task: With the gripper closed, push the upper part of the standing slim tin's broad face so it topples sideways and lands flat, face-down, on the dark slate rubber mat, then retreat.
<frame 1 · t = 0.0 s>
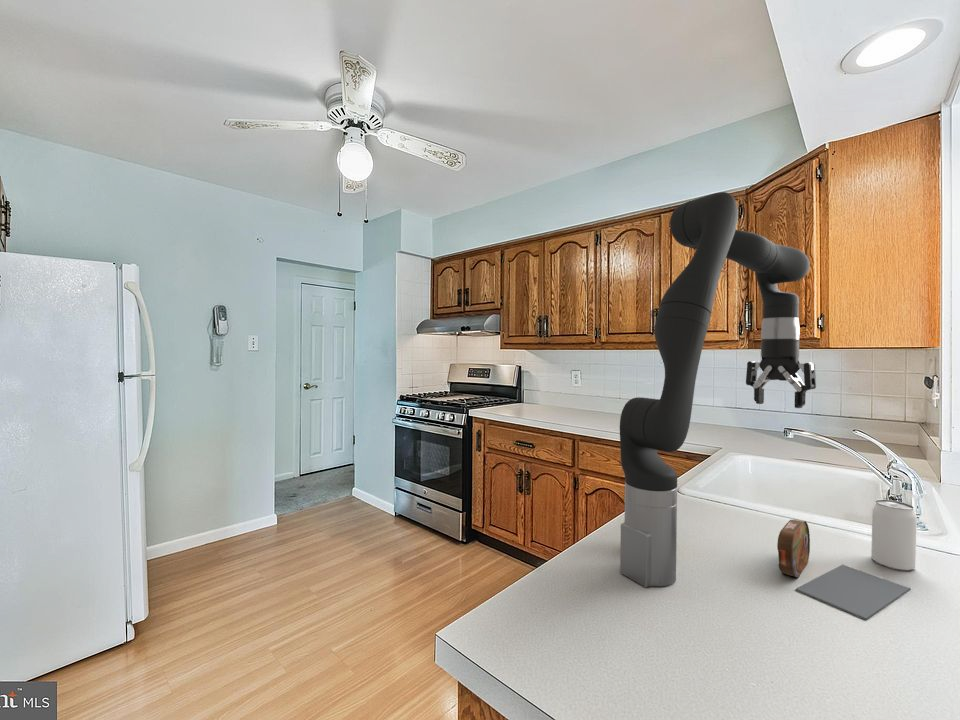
hand: (778, 405, 106), 29 cm above the countertop, fingers open, 8 cm apart
tin: (793, 568, 87), on the countertop
mat: (853, 590, 79), on the countertop
can: (892, 564, 89), on the countertop
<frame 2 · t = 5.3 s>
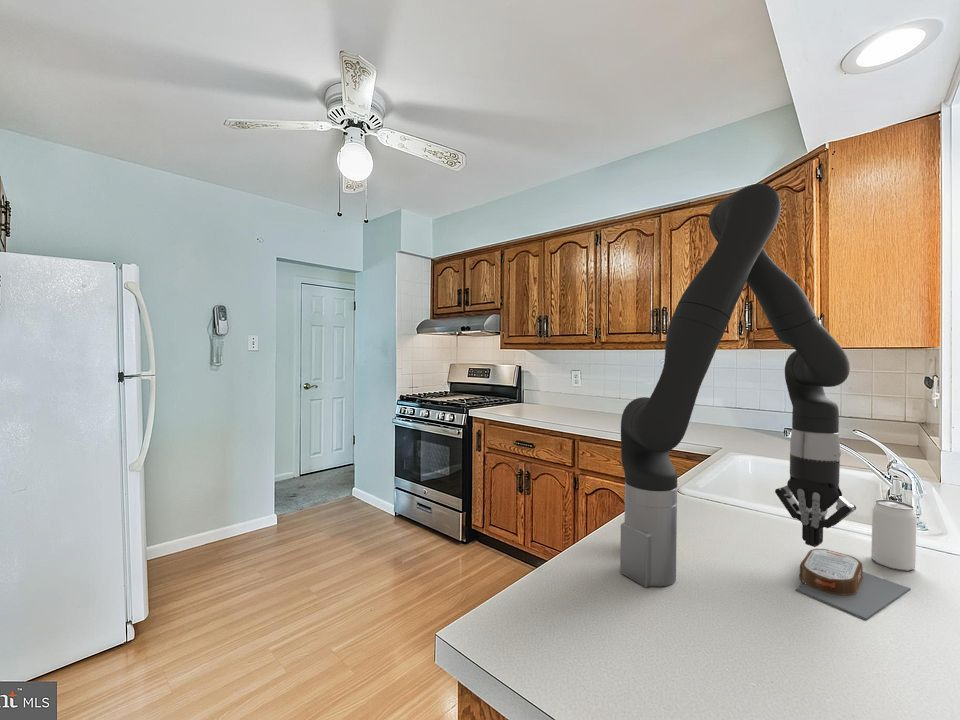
hand: (812, 544, 84), 6 cm above the countertop, fingers closed
tin: (802, 560, 86), point 2 cm above the countertop, touching mat
everything else where it was.
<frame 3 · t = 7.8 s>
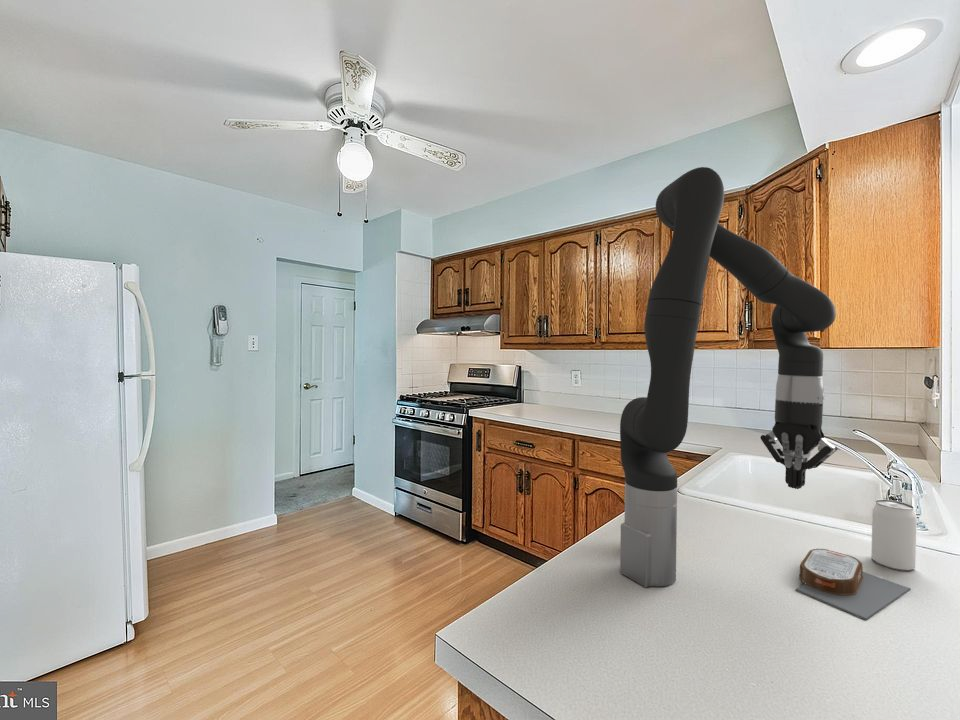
hand: (794, 487, 87), 16 cm above the countertop, fingers closed
nothing on the countertop moved.
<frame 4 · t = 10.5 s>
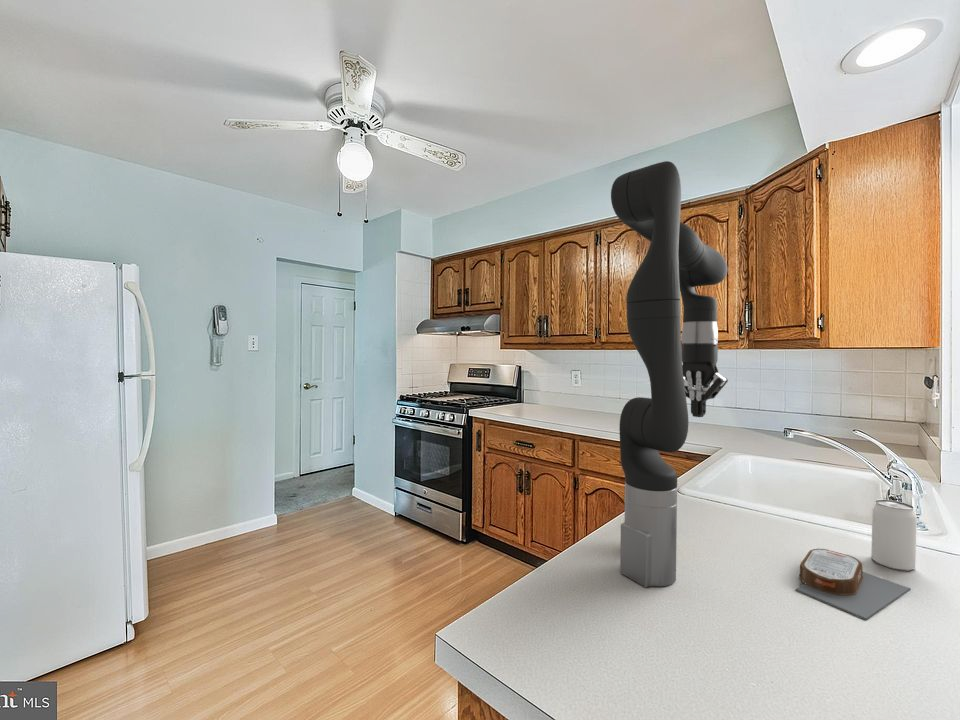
hand: (698, 416, 103), 27 cm above the countertop, fingers closed
nothing on the countertop moved.
at the end: tin tilted 94°; tin inside the target area (8.1 cm from its centre), point 1.9 cm above the countertop; the gripper is holding nothing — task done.
